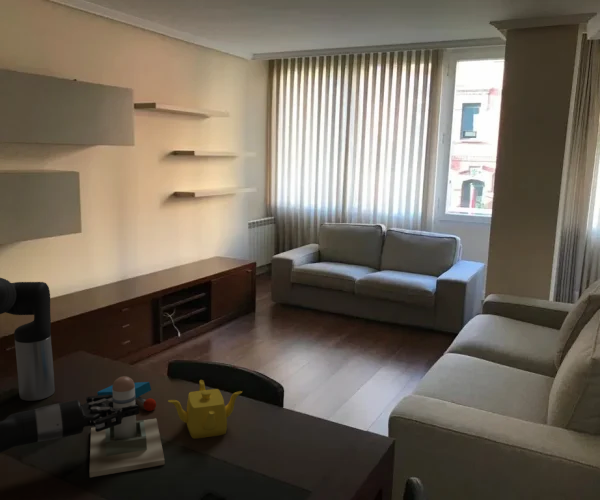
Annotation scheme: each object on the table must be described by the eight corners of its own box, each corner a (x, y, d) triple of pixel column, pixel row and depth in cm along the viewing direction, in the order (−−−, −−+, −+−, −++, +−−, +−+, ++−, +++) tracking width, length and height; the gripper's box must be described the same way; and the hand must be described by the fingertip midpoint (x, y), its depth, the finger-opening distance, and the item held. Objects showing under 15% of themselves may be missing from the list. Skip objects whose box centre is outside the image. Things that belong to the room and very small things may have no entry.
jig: (91, 432, 138) (90, 416, 137) (156, 422, 143) (156, 407, 142) (89, 477, 119) (88, 460, 119) (164, 464, 125) (164, 447, 124)
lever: (102, 415, 156) (146, 415, 146) (96, 392, 155) (140, 390, 146) (121, 406, 162) (164, 405, 152) (116, 383, 161) (158, 381, 152)
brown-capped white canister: (113, 434, 132) (111, 374, 129) (136, 430, 134) (134, 371, 131) (114, 445, 127) (111, 383, 125) (137, 441, 129) (135, 380, 126)
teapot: (212, 447, 132) (212, 410, 130) (166, 433, 138) (165, 397, 136) (244, 421, 145) (244, 387, 143) (201, 408, 151) (200, 376, 149)
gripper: (61, 419, 115) (142, 402, 124) (54, 392, 128) (128, 378, 136) (63, 451, 117) (144, 432, 125) (56, 421, 129) (129, 406, 137)
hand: (135, 404), depth 131 cm, fingers closed on brown-capped white canister, 4 cm apart
